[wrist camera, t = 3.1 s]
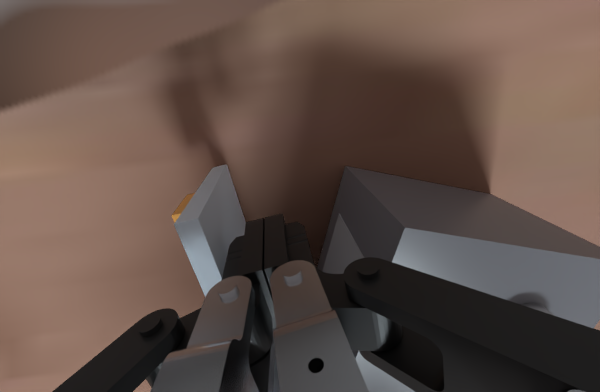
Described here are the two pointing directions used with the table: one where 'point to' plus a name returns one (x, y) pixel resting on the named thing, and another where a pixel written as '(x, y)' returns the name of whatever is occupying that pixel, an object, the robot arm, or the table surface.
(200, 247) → the side door
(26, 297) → the table surface
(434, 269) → the grey box with knob
